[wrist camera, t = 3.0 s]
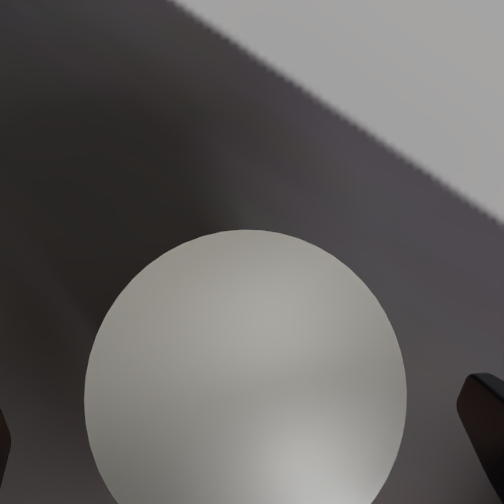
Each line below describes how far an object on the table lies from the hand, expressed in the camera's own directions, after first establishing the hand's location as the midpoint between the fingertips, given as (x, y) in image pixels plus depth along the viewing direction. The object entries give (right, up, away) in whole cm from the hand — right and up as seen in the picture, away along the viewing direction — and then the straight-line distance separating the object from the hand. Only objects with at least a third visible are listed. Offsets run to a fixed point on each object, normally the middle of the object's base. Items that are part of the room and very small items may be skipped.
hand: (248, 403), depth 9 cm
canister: (-1, -2, +9) cm, 9 cm away
